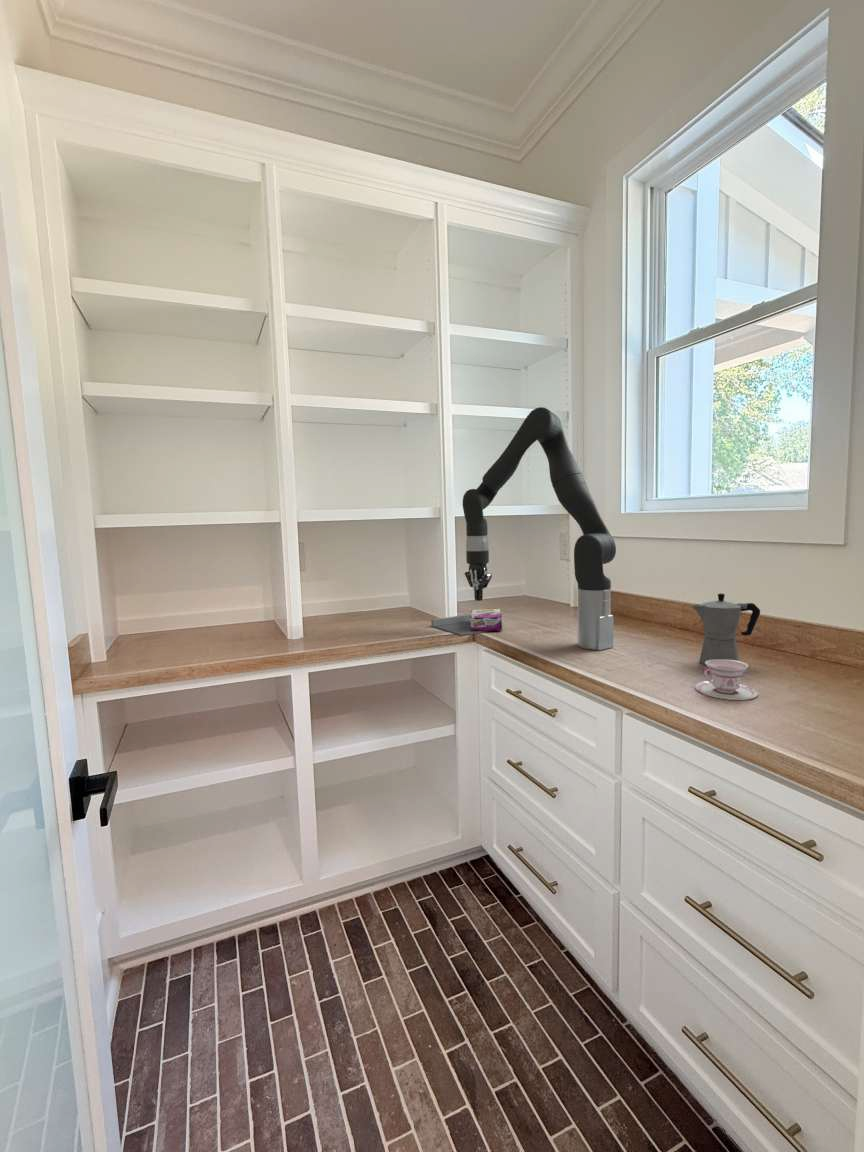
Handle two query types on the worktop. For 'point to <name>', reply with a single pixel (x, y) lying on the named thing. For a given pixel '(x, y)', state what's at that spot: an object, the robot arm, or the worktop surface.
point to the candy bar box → (486, 620)
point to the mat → (455, 625)
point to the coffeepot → (723, 627)
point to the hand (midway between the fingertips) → (478, 600)
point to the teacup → (726, 680)
